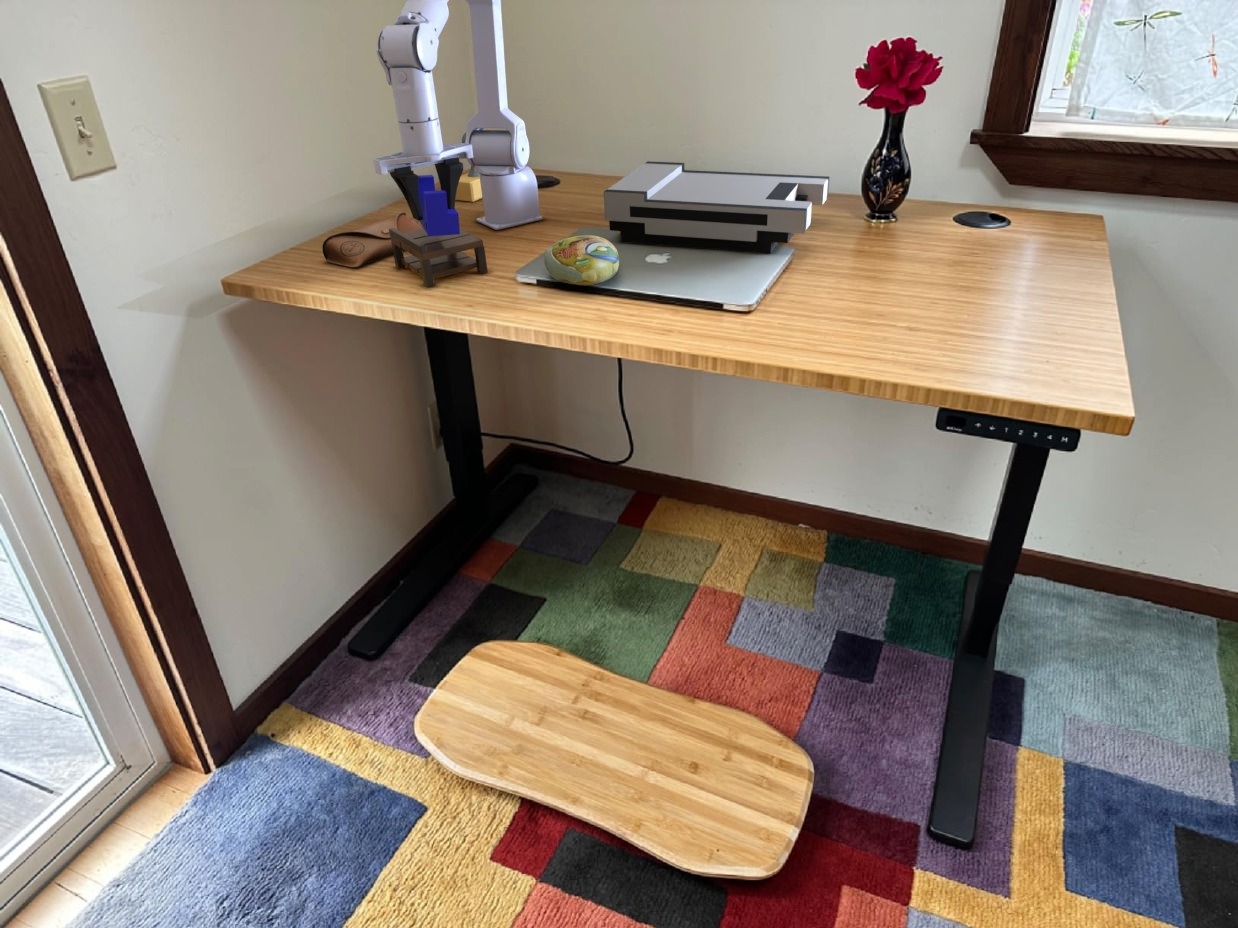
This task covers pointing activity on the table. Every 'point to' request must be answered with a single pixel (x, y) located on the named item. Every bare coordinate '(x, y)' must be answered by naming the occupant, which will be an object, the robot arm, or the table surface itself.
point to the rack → (437, 253)
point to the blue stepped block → (436, 209)
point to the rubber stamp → (469, 184)
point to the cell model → (582, 260)
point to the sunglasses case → (366, 242)
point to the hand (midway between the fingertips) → (433, 215)
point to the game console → (711, 207)
